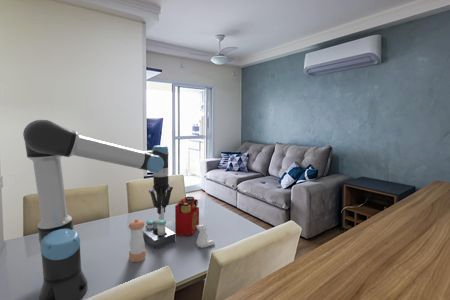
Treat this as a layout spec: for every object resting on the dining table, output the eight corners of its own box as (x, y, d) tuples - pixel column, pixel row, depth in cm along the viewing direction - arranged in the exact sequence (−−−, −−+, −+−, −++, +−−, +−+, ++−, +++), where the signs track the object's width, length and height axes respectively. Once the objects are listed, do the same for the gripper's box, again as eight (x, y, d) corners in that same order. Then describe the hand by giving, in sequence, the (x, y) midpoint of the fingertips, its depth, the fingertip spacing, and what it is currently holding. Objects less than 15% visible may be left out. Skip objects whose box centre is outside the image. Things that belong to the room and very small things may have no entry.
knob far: (149, 236, 135) (148, 224, 134) (145, 232, 138) (144, 221, 137) (156, 233, 138) (156, 221, 137) (152, 230, 141) (152, 219, 140)
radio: (191, 237, 136) (191, 203, 134) (174, 235, 138) (174, 201, 136) (199, 225, 152) (200, 194, 149) (184, 223, 153) (184, 193, 151)
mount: (154, 249, 123) (154, 240, 122) (137, 235, 137) (137, 227, 136) (175, 242, 131) (175, 233, 130) (157, 229, 145) (157, 221, 145)
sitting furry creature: (215, 244, 130) (215, 223, 128) (205, 251, 122) (205, 229, 121) (201, 239, 135) (201, 218, 133) (191, 245, 128) (191, 224, 126)
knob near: (159, 237, 126) (159, 224, 125) (155, 233, 129) (155, 221, 128) (167, 234, 129) (167, 221, 128) (163, 231, 132) (163, 218, 131)
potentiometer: (153, 231, 131) (153, 222, 131) (152, 229, 134) (152, 220, 133) (159, 230, 133) (159, 221, 132) (158, 228, 135) (157, 219, 135)
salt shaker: (128, 263, 111) (127, 223, 109) (130, 254, 118) (129, 217, 116) (145, 260, 113) (144, 221, 111) (145, 252, 120) (145, 215, 118)
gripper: (152, 178, 118) (153, 224, 121) (175, 175, 127) (175, 217, 130) (145, 176, 123) (146, 220, 126) (168, 172, 132) (168, 213, 135)
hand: (161, 219), depth 128 cm, fingers closed
